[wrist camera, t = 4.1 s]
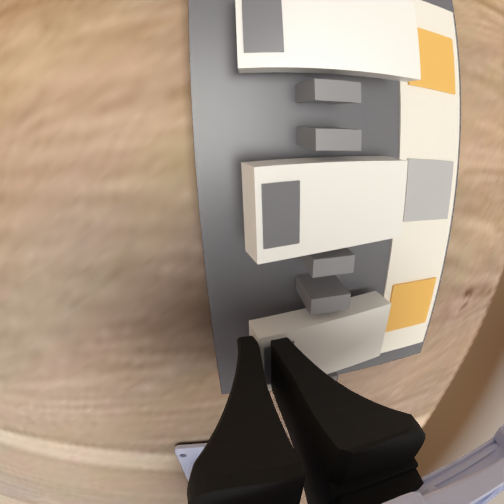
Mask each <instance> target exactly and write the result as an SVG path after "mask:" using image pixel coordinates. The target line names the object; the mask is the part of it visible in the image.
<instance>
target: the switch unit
mask: <svg viewBox="0 0 504 504" xmlns="http://www.w3.org/2000/svg"><path fill="white" fill-rule="evenodd" d="M408 1H412V2H414V6H415V13H416V22H417V31H418V41H419V54H420V71H421V80H416V81H409V82H403V81H396V80H389V79H381V78H372V77H363V76H352V75H340V74H323V73H291V72H271V73H239V70H238V59H237V34H236V8H235V0H189V47H190V76H191V98H192V117H193V134H194V149H195V163H196V176H197V189H198V200H199V212H200V223H201V233H202V243H203V253H204V262H205V271H206V280H207V289H208V297H209V306H210V314H211V322H212V329H213V337H214V344H215V352H216V359H217V366H218V373H219V379H220V386H221V393H222V394H226V393H230V392H231V388H232V384H233V380H234V376H235V371H236V365H237V358H238V348H237V339H238V338H239V337H245V336H249V320H254V319H259V318H263V317H268V316H273V315H277V314H282V313H286V312H291V311H295V310H300V309H304V308H307V310H308V312H309V314H310V315H315V314H322V313H328V312H334V311H340V310H346V309H349V304H350V297H354V296H357V295H361V294H365V293H369V292H373V291H377V292H378V293H379V294H381V295H382V296H383V297H384V298H385V299H387V300H388V301H389V302H390V303H391V308H390V313H389V317H388V322H387V327H386V331H385V335H384V339H383V344H382V348H381V352H380V356H378V357H375V358H372V359H370V360H367V361H364V362H361V363H359V364H356V365H353V366H350V367H347V368H344V369H341V370H338V371H335V372H332V373H329V374H327V375H329V376H330V377H331V378H333V379H334V380H335V381H337V379H338V374H343V373H347V372H351V371H356V370H360V369H364V368H368V367H372V366H375V365H379V364H383V363H387V362H390V361H394V360H397V359H401V358H404V357H408V356H411V355H414V354H417V353H420V352H421V349H422V346H423V343H424V340H425V337H426V333H427V330H428V327H429V323H430V320H431V316H432V313H433V309H434V305H435V302H436V298H437V294H438V290H439V286H440V281H441V277H442V273H443V268H444V263H445V259H446V254H447V248H448V243H449V237H450V232H451V226H452V219H453V212H454V205H455V197H456V188H457V179H458V168H459V154H460V134H461V83H460V64H459V51H458V40H457V31H456V23H455V16H454V9H453V3H452V0H408ZM342 156H389V157H393V158H398V159H402V160H406V161H408V164H407V180H406V193H405V204H404V213H403V222H402V231H401V237H397V238H392V239H387V240H382V241H377V242H372V243H367V244H362V245H357V246H352V247H346V248H341V249H336V250H331V251H326V252H321V253H316V254H310V255H305V256H300V257H295V258H290V259H284V260H279V261H274V262H268V263H263V264H258V265H257V263H256V262H255V261H254V260H253V259H252V258H251V256H250V255H249V254H248V253H247V252H246V251H245V233H244V213H243V192H242V170H241V162H250V161H263V160H277V159H293V158H313V157H342Z"/></svg>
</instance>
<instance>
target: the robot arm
mask: <svg viewBox="0 0 504 504" xmlns="http://www.w3.org/2000/svg"><path fill="white" fill-rule="evenodd" d="M237 348H238V358H237V365H236V371H235V376H234V380H233V384H232V388H231V392H230V395H229V398H228V401H227V403H226V406H225V409H224V411H223V413H222V416H221V418H220V420H219V422H218V424H217V426H216V428H215V430H214V432H213V434H212V436H211V437H210V439H209V441H208V443H200V444H186V445H178V446H176V447H175V453H176V456H177V458H178V460H179V462H180V465H181V467H182V469H183V471H184V473H185V476H186V478H187V480H188V488H187V497H188V504H299V503H300V499H301V495H302V491H303V486H304V490H305V494H306V499H307V503H308V504H486V503H487V502H488V501H490V500H491V499H493V498H494V497H495V496H497V495H498V494H499V493H500V492H502V491H503V490H504V424H503V425H502V426H501V427H500V428H499V429H498V431H497V432H496V433H495V435H494V437H493V438H491V439H490V440H488V441H487V442H485V443H484V444H482V445H480V446H479V447H477V448H476V449H474V450H472V451H471V452H469V453H468V454H466V455H464V456H462V457H460V458H459V459H457V460H455V461H453V462H451V463H450V464H448V465H446V466H444V467H442V468H440V469H438V470H436V471H434V472H432V473H430V474H428V475H426V476H424V477H422V478H421V477H420V475H419V473H418V471H417V470H416V468H417V466H418V463H417V461H416V460H415V458H414V457H415V456H416V454H417V453H418V451H419V450H420V448H421V446H422V445H423V443H424V440H425V433H424V432H423V430H422V428H421V427H420V425H419V424H418V422H417V421H416V420H415V419H414V418H413V416H412V415H411V414H407V413H404V412H400V411H397V410H394V409H391V408H388V407H385V406H383V405H380V404H377V403H375V402H373V401H371V400H368V399H366V398H364V397H362V396H360V395H358V394H357V393H355V392H353V391H351V390H349V389H348V388H346V387H344V386H343V385H341V384H340V383H338V382H337V381H335V380H334V379H333V378H331V377H330V376H329V375H327V374H326V373H325V372H324V371H322V370H321V369H320V368H319V367H317V366H316V365H315V364H314V363H313V362H312V361H311V360H310V359H309V358H307V357H306V356H305V355H304V354H303V353H302V352H301V351H300V350H299V349H298V348H297V347H296V346H295V345H294V344H293V342H292V341H291V340H290V339H289V338H287V337H285V338H280V339H276V340H271V387H272V391H273V394H274V396H275V399H276V402H277V404H278V407H279V409H280V412H281V414H282V417H283V420H284V422H285V425H286V427H287V430H288V432H289V435H290V438H291V441H292V444H293V447H292V445H291V443H290V441H289V439H288V437H287V435H286V433H285V430H284V428H283V426H282V424H281V421H280V419H279V416H278V414H277V411H276V409H275V406H274V404H273V401H272V398H271V396H270V393H269V390H268V387H267V383H266V379H265V373H264V368H263V362H262V357H261V352H260V346H259V344H258V342H257V341H256V339H255V338H254V337H253V336H245V337H239V338H238V339H237ZM293 448H294V449H293Z"/></svg>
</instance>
